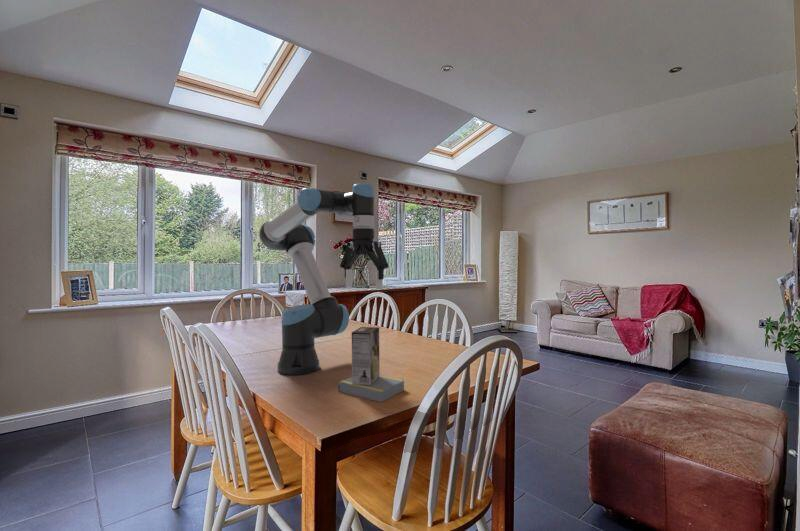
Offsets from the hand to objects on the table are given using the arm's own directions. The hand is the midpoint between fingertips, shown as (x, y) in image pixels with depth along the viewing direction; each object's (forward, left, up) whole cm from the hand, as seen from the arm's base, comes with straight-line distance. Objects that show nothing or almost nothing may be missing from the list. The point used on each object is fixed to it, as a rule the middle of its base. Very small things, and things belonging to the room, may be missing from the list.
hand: (363, 288), depth 136 cm
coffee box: (+11, -12, -28) cm, 32 cm away
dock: (+13, -12, -31) cm, 35 cm away
